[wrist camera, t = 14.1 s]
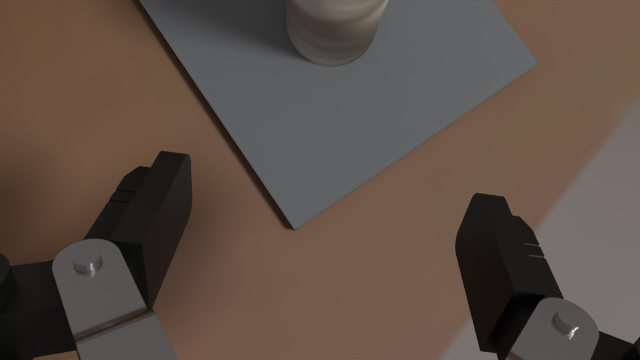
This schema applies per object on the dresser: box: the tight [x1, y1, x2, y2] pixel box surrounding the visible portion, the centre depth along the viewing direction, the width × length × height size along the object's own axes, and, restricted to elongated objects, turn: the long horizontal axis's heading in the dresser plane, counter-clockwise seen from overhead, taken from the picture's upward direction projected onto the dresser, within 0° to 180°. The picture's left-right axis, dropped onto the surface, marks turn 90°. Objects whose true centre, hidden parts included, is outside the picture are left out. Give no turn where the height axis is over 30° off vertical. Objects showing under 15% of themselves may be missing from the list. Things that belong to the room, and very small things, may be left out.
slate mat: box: [139, 0, 539, 230], centre depth 26 cm, size 16×16×1 cm
